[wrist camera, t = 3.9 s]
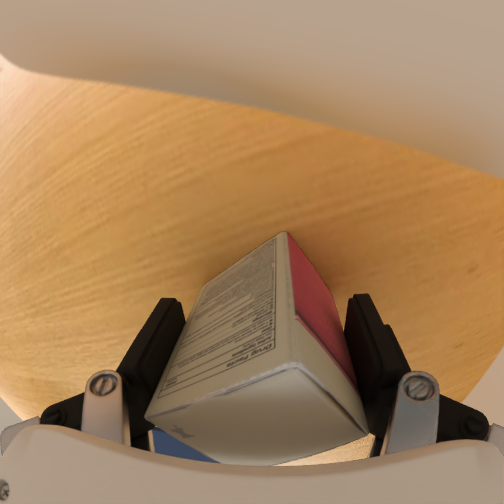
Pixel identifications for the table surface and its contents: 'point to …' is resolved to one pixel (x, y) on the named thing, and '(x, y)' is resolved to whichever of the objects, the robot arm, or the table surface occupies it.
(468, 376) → the table surface
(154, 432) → the cloth
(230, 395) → the small box
